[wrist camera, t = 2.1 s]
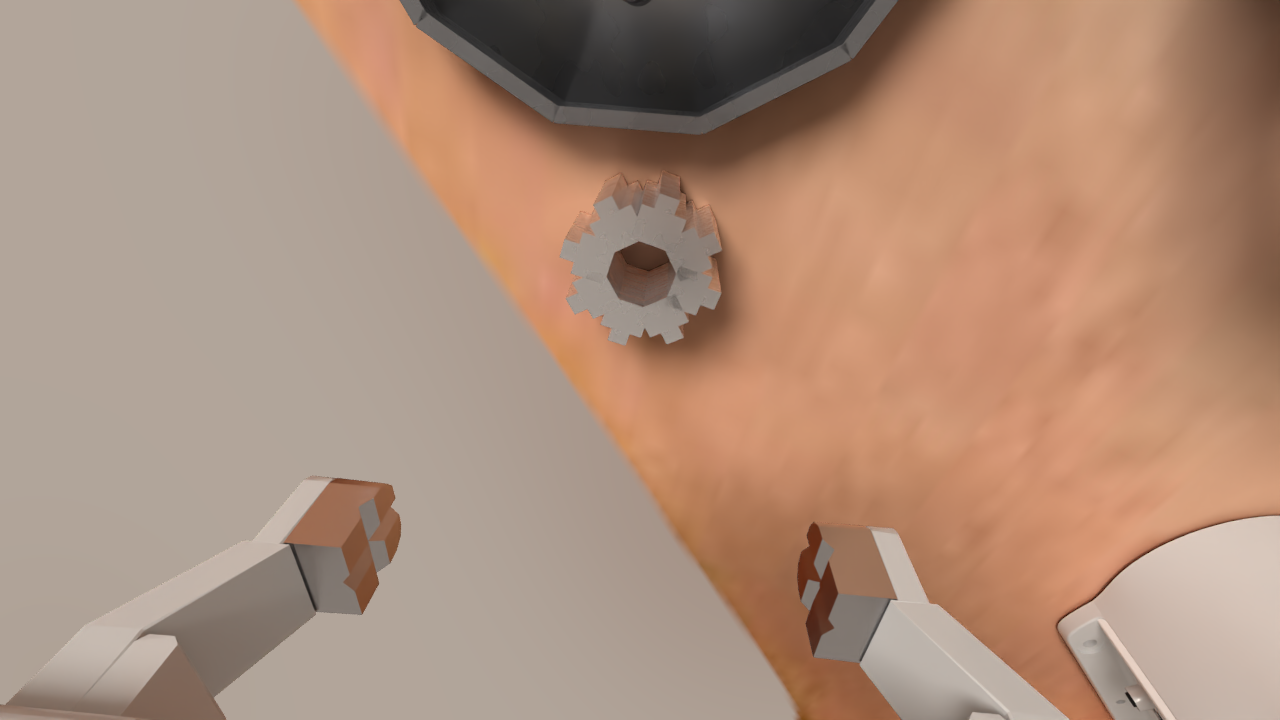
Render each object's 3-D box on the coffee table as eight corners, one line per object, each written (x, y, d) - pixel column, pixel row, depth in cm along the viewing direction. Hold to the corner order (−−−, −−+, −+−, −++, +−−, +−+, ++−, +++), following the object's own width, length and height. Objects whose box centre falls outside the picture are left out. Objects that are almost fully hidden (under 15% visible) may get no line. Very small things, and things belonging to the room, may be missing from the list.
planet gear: (739, 275, 26) (748, 312, 23) (616, 326, 28) (607, 368, 24) (682, 141, 23) (683, 160, 20) (549, 208, 25) (528, 236, 22)
